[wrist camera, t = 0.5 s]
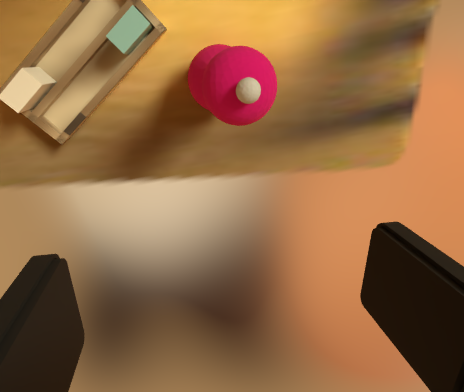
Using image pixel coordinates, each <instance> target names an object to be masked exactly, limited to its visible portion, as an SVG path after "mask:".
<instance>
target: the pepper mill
mask: <svg viewBox="0 0 464 392" xmlns="http://www.w3.org/2000/svg"><path fill="white" fill-rule="evenodd" d="M188 85H189V89H190V92H191V94H192V96H193V97H194V99H195V100H196V101H197V102H198V104H200V105H201V106H202V107H204V108H205V109H207V110H209V111H210V112H211V113H212V114H213V115H214V116H216V117H217V118H218V119H219V120H221V121H223V122H225V123H228V124H231V125H237V126H240V125H247V124H251V123H253V122H256V121H258V120H259V119H261V118H262V117H263V116H264V115H265V114H266V113H267V112H268V111H269V110H270V108H271V106H272V105H273V103H274V100H275V97H276V93H277V78H276V74H275V71H274V68H273V66H272V65H271V63H270V61H269V60H268V59H267V58H266V57H265V56H264V55H263V54H262V53H260V52H259V51H257V50H255V49H253V48H250V47H247V46H234V47H230V46H227V45H221V44H217V45H211V46H208V47H206V48H204V49H203V50H201V51H200V52H199V53H198V54H197V55H196V56H195V57H194V59H193V60H192V62H191V65H190V67H189V71H188Z"/></svg>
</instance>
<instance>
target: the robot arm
mask: <svg viewBox="0 0 464 392" xmlns="http://www.w3.org/2000/svg"><path fill="white" fill-rule="evenodd" d="M361 302H362V304H363V306H364V308H365V309H366V310H367V311H368V313H369V314H370V315H371V316H372V318H373V319H374V320H375V321H376V323H377V324H378V325H379V327H380V328H381V329H382V330H383V332H384V333H385V334H386V335H387V336H388V338H389V339H390V340H391V341H392V343H393V344H394V345H395V346H396V348H397V349H398V350H399V352H400V353H401V354H402V356H403V357H404V358H405V359H406V361H407V362H408V363H409V364H410V366H411V367H412V368H413V369H414V371H415V372H416V373H417V374H418V376H419V377H420V378H421V379H422V381H423V382H424V383H425V385H426V386H427V387H428V388H429V390H430V391H431V392H464V267H463V266H462V265H460V264H459V263H458V262H456V261H455V260H453V259H452V258H450V257H449V256H447V255H446V254H445V253H443V252H441V251H440V250H439V249H437V248H436V247H434V246H433V245H432V244H430V243H429V242H427V241H426V240H424V239H423V238H421V237H420V236H418V235H417V234H415V233H414V232H413V231H411V230H410V229H408V228H407V227H405V226H404V225H402V224H401V223H399V222H389V223H380V224H378V225H377V227H376V228H375V229H373V231H372V234H371V240H370V246H369V251H368V256H367V262H366V267H365V273H364V278H363V284H362V289H361ZM83 344H84V329H83V325H82V321H81V317H80V313H79V309H78V305H77V301H76V297H75V293H74V289H73V285H72V281H71V277H70V273H69V269H68V265H67V261H66V260H65V259H64V258H63V259H60V258H59V256H58V255H57V254H49V255H39V256H33V257H32V258H31V259H30V260H29V262H28V263H27V264H26V265H25V267H24V268H23V269H22V271H21V272H20V273H19V275H18V276H17V278H16V279H15V280H14V281H13V283H12V284H11V285H10V287H9V288H8V290H7V291H6V292H5V294H4V295H3V296H2V298H1V299H0V392H68V390H69V388H70V384H71V382H72V378H73V375H74V372H75V369H76V366H77V363H78V360H79V357H80V354H81V350H82V348H83Z"/></svg>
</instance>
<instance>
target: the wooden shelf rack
mask: <svg viewBox="0 0 464 392" xmlns="http://www.w3.org/2000/svg"><path fill="white" fill-rule="evenodd" d="M132 5H133V6H134V7H135V8H136V9H137V10H138V11H139V12H140V13H141V14H142V15H143V16H144V17H145V19H146V20H147V21H148V22H149V23H150V24H151V26H152V27H153V28H152V30H151V31H150V32H149V33H148V34H147V35H146V36H145V37H144V39H143V40H142V41H141V42H140V43H139V44H138V45H137V47H136V48H135V49H134V50H133V51H132V52H131V53H130V54H129V55H128V54H123V53H122V52H121V51H120V50H119V49H118V48H117V47H116V46H115V45H114V44H113V43H112V42H111V41H110V40H109V39H108V38H107V37H106V35H107V34H108V33H109V32H110V31H111V29H112V28H113V27H114V26H115V25H116V24H117V22H118V21H119V20H120V19H121V18H122V17H123V15H124V14H125V13H126V12H127V11H128V10H129V8H130V7H131V6H132ZM165 31H166V27H165V26H164V25H163V24H162V23H161V22H160V21H159V20H158V19H157V17H156V16H155V15H154V14H153V13H152V12H151V11H150V10H149V9H148V8H147V7H146V5H145V4H144V3H143V2H142V1H141V0H72V2H71V3H70V4H69V5H68V6H67V8H66V9H65V10H64V11H63V13H62V14H61V15H60V16H59V17H58V19H57V20H56V21H55V22H54V24H53V25H52V26H51V27H50V28H49V30H48V31H47V32H46V33H45V34H44V36H43V37H42V38H41V39H40V41H39V42H38V43H37V44H36V45H35V47H34V48H33V49H32V50H31V52H30V53H29V54H28V55H27V56H26V58H25V59H24V60H23V61H22V62H21V64H20V65H19V66H18V67H17V69H16V70H15V71H14V72H13V73H12V75H11V76H10V77H9V78H8V80H7V81H6V82H5V83H4V84H3V86H2V87H1V88H0V94H1V93H2V91H3V90H4V89H5V88H6V86H7V85H8V84H9V83H10V82H11V80H12V79H13V78H14V77H15V76H16V74H17V73H18V72H19V71H20V69H21V68H27V67H40V68H41V69H42V70H43V71H45V72H46V73H47V74H48V75H49V76H50V77H52V78H53V79H54V80H55V81H56V82H57V83H56V84H55V85H54V86H53V87H52V88H51V90H50V91H49V92H48V93H47V94H46V95H45V97H44V98H43V99H42V100H41V101H40V103H39V104H38V105H37V106H36V107H35V108H32V109H29V110H26V111H23V112H20V113H22V114H23V115H24V116H25V117H27V118H28V119H29V120H31V121H32V122H33V123H35V124H36V125H37V126H38V127H40V128H41V129H42V130H44V131H45V132H46V133H47V134H49V135H50V136H51V137H53V138H54V139H55V140H57V141H58V142H59V143H60V144H63V143H65V142H66V141H67V140H68V139H69V138H70V137H71V136H72V135H73V134H74V133H75V132H76V131H77V129H78V128H79V127H80V126H81V125H82V124H83V123H84V122H85V120H86V119H87V118H88V117H89V116H90V115H91V114H92V113H93V112H94V110H95V109H96V108H97V107H98V106H99V105H100V104H101V103H102V102H103V100H104V99H105V98H106V97H107V96H108V95H109V94H110V93H111V92H112V90H113V89H114V88H115V87H116V86H117V85H118V84H119V83H120V82H121V80H122V79H123V78H124V77H125V76H126V75H127V74H128V73H129V72H130V70H131V69H132V68H133V67H134V66H135V65H136V64H137V63H138V61H139V60H140V59H141V58H142V57H143V56H144V55H145V54H146V53H147V51H148V50H149V49H150V48H151V47H152V46H153V45H154V44H155V43H156V41H157V40H158V39H159V38H160V37H161V36H162V35H163V34H164V33H165Z"/></svg>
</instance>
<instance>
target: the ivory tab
mask: <svg viewBox="0 0 464 392" xmlns="http://www.w3.org/2000/svg"><path fill="white" fill-rule="evenodd" d="M56 83H57V82H56V81H55V80H54V79H53V78H52V77H50V76H49V75H48V74H47V73H46V72H45V71H43V70H42V69H41V68H40V67H27V68H21V69H20V71H19V72H18V73H17V74H16V76H15V77H14V78H13V79H12V80H11V82H10V83H9V84H8V85H7V86H6V88H5V89H4V90H3V91H2V93H1V94H0V100H2V101H3V102H4V103H6V104H7V105H8V106H9V107H11V108H12V109H13V110H15V111H16V112H17V113H20V112H23V111H26V110H29V109H32V108H35V107H36V106H37V105H38V104H39V103H40V101H41V100H42V99H43V98H44V97H45V95H46V94H47V93H48V92H49V91H50V90H51V88H52V87H53V86H54V85H55V84H56Z"/></svg>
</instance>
